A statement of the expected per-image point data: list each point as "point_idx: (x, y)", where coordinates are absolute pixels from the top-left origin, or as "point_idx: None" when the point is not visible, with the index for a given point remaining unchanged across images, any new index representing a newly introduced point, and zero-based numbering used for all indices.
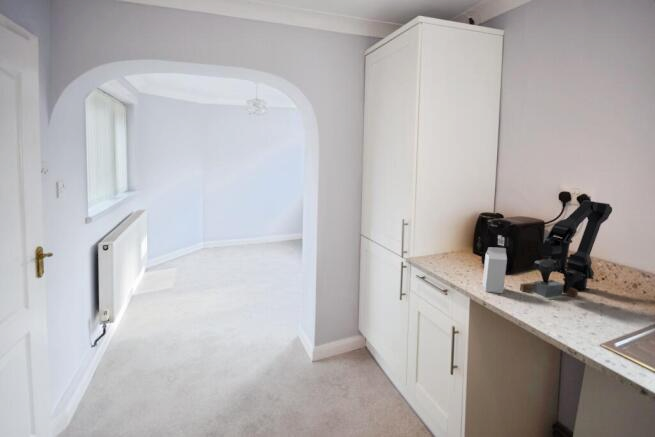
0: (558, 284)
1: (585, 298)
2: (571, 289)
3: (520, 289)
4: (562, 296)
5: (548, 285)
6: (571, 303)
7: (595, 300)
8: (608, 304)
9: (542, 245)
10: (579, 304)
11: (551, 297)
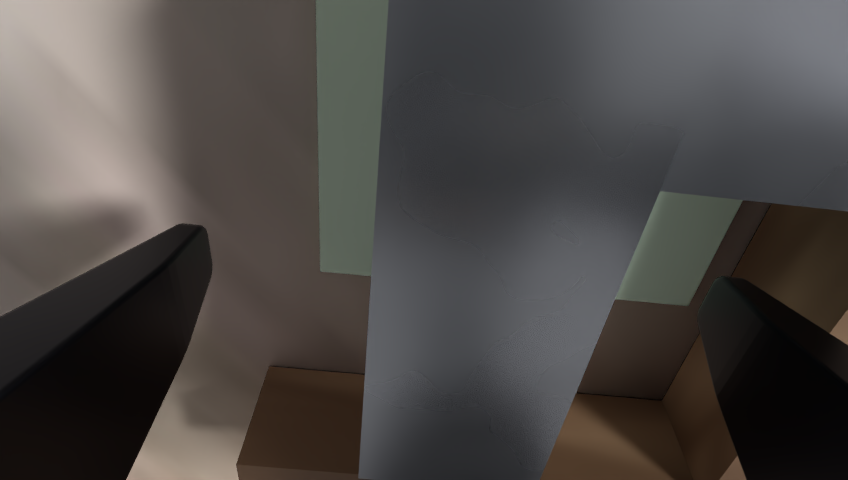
0: (381, 386)
1: (210, 435)
2: (311, 463)
3: None
4: (340, 253)
5: (452, 12)
6: (49, 127)
7: (137, 465)
8: None
9: None
10: (5, 211)
11: (372, 6)
